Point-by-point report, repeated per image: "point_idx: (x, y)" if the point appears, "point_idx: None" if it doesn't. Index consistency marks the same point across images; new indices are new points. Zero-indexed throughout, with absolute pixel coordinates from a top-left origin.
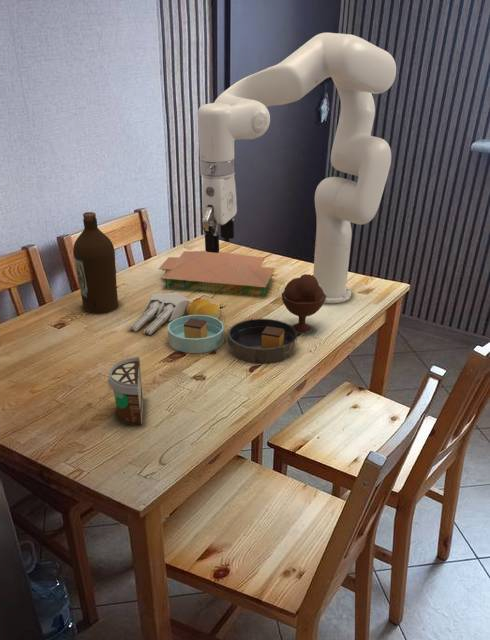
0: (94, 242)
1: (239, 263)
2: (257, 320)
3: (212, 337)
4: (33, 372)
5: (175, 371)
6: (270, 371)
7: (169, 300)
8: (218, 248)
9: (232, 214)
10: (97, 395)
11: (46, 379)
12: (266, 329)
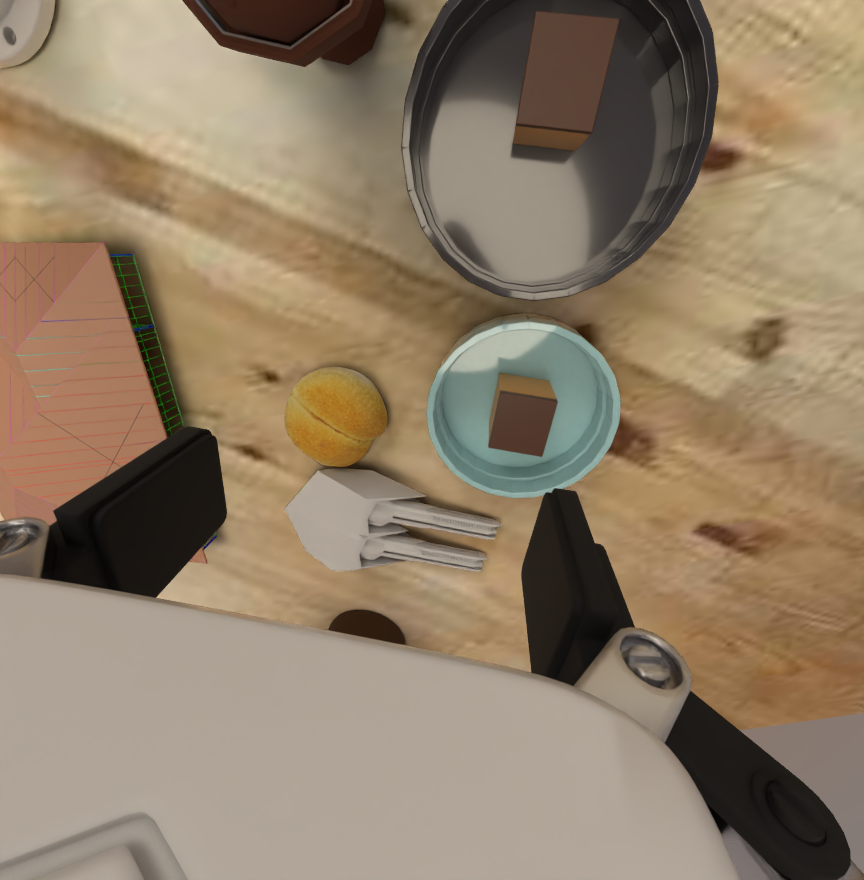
0: None
1: (8, 376)
2: (419, 200)
3: (593, 347)
4: (700, 684)
5: (713, 417)
6: (736, 68)
7: (359, 525)
8: (579, 509)
9: (112, 653)
10: (836, 564)
11: (736, 661)
12: (553, 115)
